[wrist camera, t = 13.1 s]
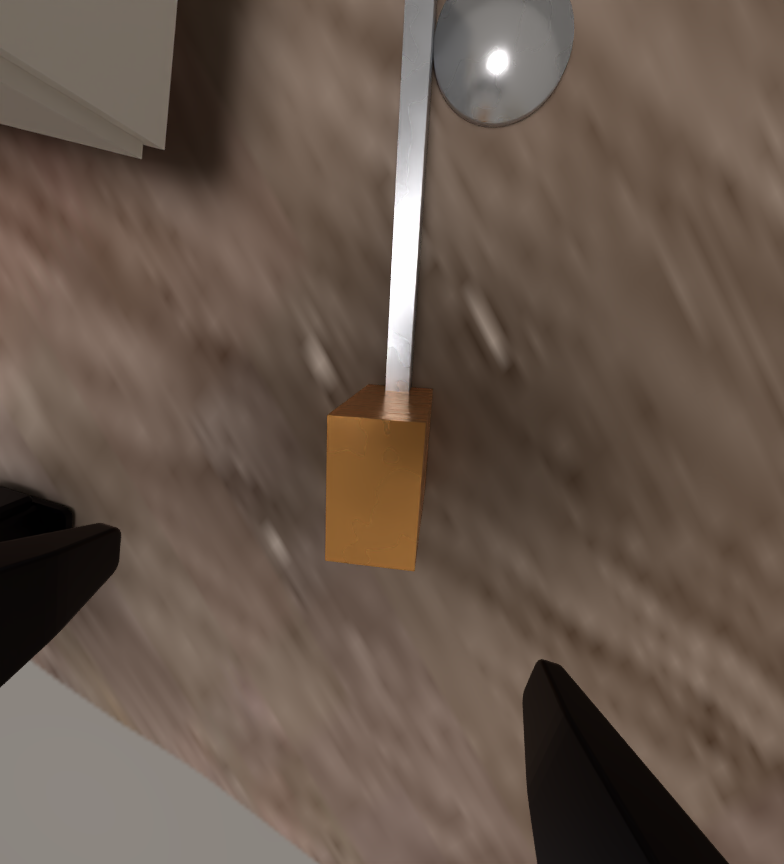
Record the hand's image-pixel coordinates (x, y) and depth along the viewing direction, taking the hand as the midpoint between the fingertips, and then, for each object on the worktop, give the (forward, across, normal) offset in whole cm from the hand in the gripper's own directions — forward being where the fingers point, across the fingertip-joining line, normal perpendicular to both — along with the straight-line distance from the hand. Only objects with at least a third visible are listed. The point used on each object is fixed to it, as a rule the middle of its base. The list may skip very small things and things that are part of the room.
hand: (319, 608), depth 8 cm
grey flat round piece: (+12, 0, -16) cm, 20 cm away
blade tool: (+12, +1, -8) cm, 14 cm away
